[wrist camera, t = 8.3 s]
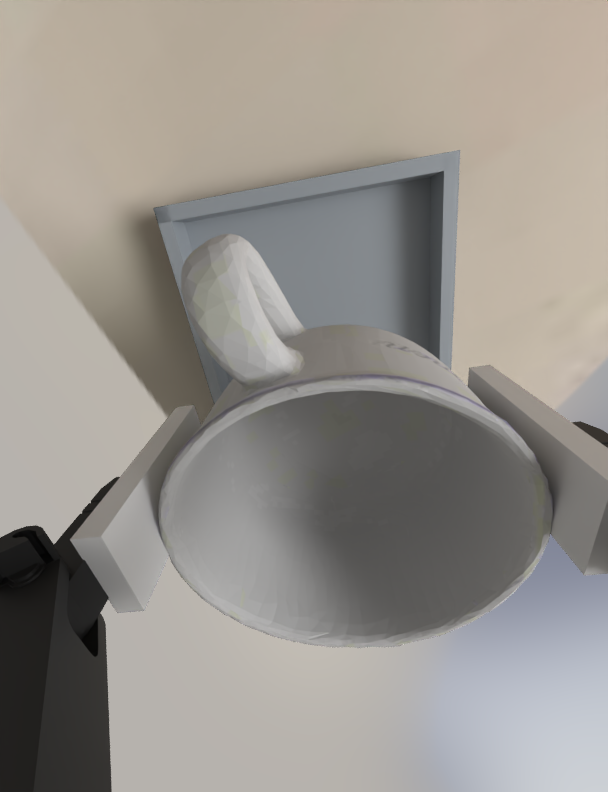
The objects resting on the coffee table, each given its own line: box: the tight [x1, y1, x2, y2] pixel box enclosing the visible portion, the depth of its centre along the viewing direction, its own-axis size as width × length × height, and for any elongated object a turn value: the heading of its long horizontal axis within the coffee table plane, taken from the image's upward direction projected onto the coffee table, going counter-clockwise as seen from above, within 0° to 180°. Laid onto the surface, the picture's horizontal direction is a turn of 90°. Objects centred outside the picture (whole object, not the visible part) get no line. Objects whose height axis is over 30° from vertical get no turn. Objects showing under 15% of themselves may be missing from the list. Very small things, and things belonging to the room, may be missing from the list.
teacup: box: [158, 234, 553, 648], centre depth 12 cm, size 14×11×8 cm
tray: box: [154, 150, 460, 404], centre depth 21 cm, size 18×15×2 cm
